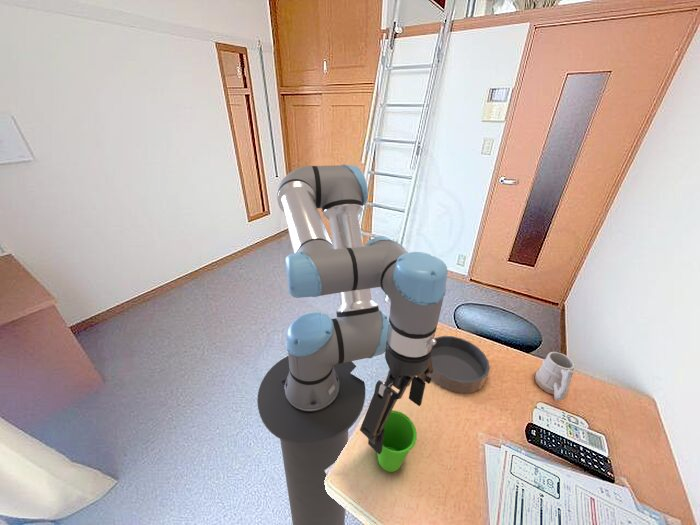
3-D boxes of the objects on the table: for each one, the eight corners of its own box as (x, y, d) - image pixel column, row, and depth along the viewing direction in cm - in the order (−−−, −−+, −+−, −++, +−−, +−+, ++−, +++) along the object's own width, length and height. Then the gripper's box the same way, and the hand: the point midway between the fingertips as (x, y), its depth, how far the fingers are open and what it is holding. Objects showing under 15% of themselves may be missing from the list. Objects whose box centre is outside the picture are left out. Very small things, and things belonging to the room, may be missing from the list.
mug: (560, 377, 85) (576, 348, 80) (572, 412, 75) (592, 381, 70) (531, 370, 87) (545, 341, 82) (540, 403, 78) (556, 372, 72)
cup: (361, 454, 65) (363, 425, 60) (390, 431, 70) (395, 402, 64) (388, 493, 58) (393, 463, 53) (418, 464, 63) (426, 435, 58)
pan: (413, 372, 86) (415, 361, 84) (436, 338, 99) (438, 328, 97) (476, 405, 76) (480, 394, 74) (491, 363, 90) (495, 352, 88)
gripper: (380, 405, 37) (370, 489, 47) (463, 319, 53) (443, 395, 63) (339, 372, 42) (338, 455, 52) (427, 302, 58) (414, 376, 68)
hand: (396, 422), depth 57 cm, fingers open, 13 cm apart
